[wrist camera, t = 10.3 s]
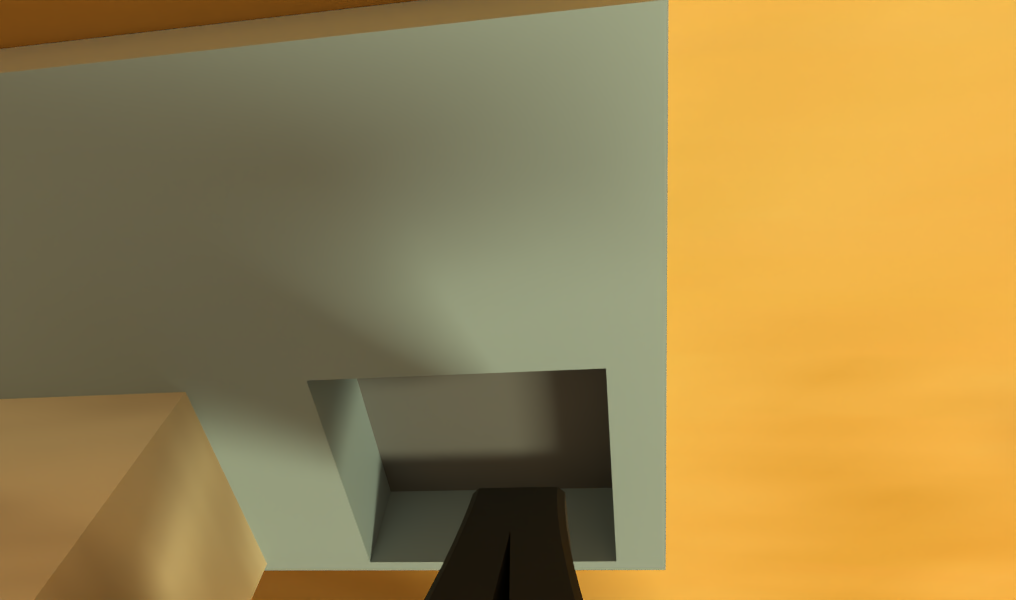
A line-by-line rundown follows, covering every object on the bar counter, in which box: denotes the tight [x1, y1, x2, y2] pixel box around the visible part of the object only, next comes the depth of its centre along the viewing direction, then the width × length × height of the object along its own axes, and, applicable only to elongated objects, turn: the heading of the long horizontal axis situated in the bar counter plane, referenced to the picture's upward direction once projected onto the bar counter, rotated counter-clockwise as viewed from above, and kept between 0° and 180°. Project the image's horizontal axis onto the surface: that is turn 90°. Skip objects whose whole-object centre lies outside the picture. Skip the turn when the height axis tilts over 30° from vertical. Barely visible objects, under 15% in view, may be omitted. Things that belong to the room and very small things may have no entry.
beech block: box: [0, 392, 267, 600], centre depth 11 cm, size 4×4×4 cm
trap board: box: [0, 0, 668, 571], centre depth 11 cm, size 10×21×4 cm, turn 97°
